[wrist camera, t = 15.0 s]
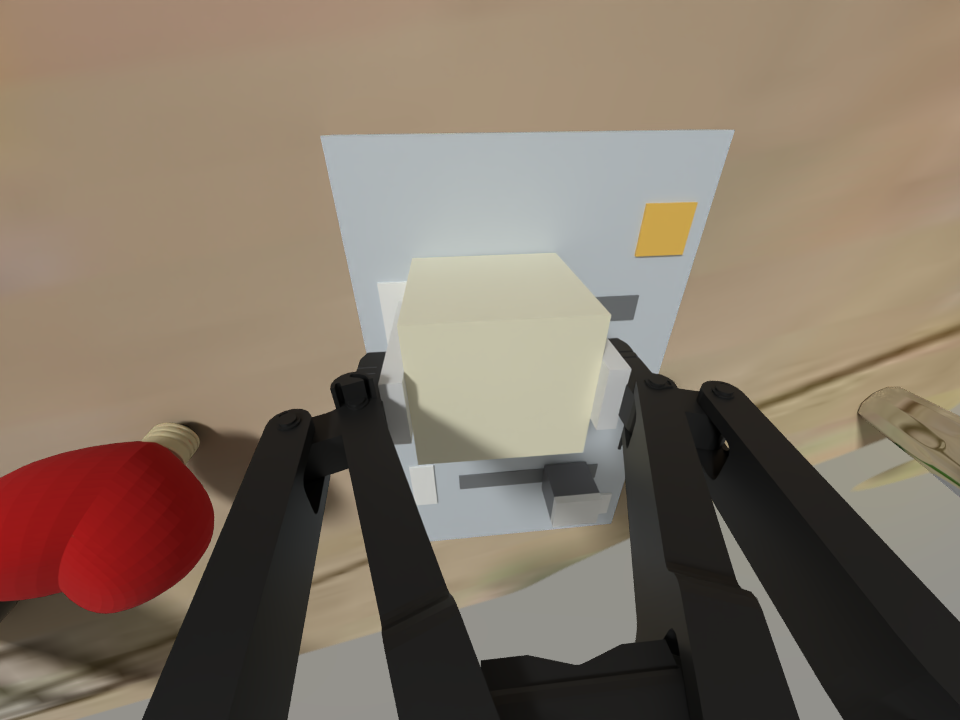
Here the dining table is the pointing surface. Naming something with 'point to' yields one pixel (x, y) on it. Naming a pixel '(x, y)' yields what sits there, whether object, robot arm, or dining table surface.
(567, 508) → the breaker
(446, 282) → the cap
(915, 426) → the milkshake
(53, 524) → the light bulb
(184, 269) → the dining table surface
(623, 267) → the panel
